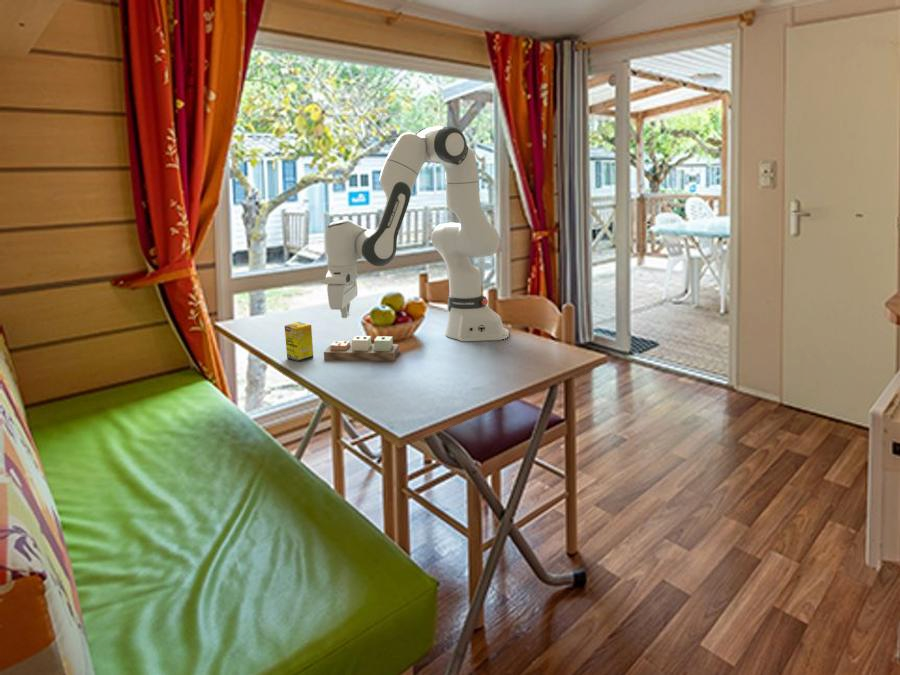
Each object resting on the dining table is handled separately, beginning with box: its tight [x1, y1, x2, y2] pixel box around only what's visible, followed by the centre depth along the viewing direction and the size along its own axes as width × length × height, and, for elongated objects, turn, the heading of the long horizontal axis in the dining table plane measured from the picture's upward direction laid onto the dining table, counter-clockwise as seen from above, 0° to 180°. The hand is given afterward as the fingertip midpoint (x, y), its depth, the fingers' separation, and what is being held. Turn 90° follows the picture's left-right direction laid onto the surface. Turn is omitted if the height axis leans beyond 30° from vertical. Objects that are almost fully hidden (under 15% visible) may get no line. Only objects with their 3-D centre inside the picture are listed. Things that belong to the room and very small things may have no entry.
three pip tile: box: [329, 340, 351, 350], centre depth 200 cm, size 5×5×4 cm
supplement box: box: [284, 321, 314, 363], centre depth 196 cm, size 6×6×11 cm
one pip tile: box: [373, 335, 394, 351], centre depth 198 cm, size 5×5×4 cm
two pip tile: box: [351, 335, 372, 351], centre depth 199 cm, size 5×5×4 cm
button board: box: [323, 342, 400, 362], centre depth 199 cm, size 22×10×2 cm, turn 85°
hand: (345, 316), depth 197 cm, fingers closed
